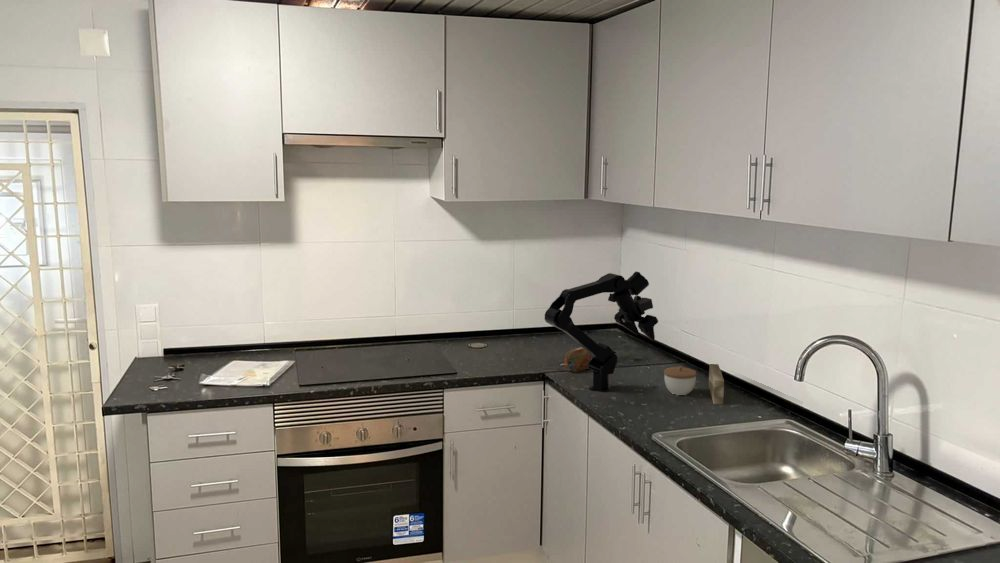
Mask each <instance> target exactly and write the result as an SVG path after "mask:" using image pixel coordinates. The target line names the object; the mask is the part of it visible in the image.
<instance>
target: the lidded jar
mask: <svg viewBox="0 0 1000 563" xmlns="http://www.w3.org/2000/svg"><path fill="white" fill-rule="evenodd" d="M663 374H664V377H663V378H664V384H665V387H666V389H667V390H668V391H669V392H671V393H672V394H671V393H670V394H671V395H673V394H676V395H675V396H678V395H684V396H688V395H689V394H690V393H691V392H692V391H693V389H694V388H695V385H696V381H697V380H696V379H697V371H696V370H694V369H692V368H689V367H685V366H684V367H683V366H682V365H680V366H671V367H667V368H665V369H664V371H663ZM687 394H688V395H687Z"/></svg>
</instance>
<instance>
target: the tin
mask: <svg viewBox="0 0 1000 563" xmlns="http://www.w3.org/2000/svg"><path fill="white" fill-rule="evenodd" d="M591 359H592V358H591V356H590V353H589V352H588V351H587V350H586V349H584V348H583V347H582V346H580V347H576V348H574V349H573V348H572V349H569V350H568V351H567V352H566V353H565V356H564V358H563V360H564V367H565V370H567V371H569V372H573V373H577V372H581V371H584V370H589V368H588V363H589V362H590V360H591Z"/></svg>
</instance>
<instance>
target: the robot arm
mask: <svg viewBox="0 0 1000 563" xmlns="http://www.w3.org/2000/svg"><path fill="white" fill-rule="evenodd" d="M649 286H650V283H649V281H648V279H647V278H646V277H645V276H644V275H643V274H641V272H640V271H634V272H633V273H632V275H630V277H628V278H627V279H625V277H623V276H622V275H621V274H616V273H612V272H609V273H607V274H604V275H602V276H601V277H600V278H599V279H597V280H594V281H592V282H589V283H585V284H582V285H578V286H575V287H572V288H564V289H563V290H562V291H561V293H560V294H559V296H558V297H556V299H555V300H554V301H552V302H551V305H549V308H548V309H547V310H546V311H545V313H544V321H545V322H546V323H547V324H548V325H551V326H553V327H554V328H557V330H560V331H563V332H564V333H565V334H566V335H568V337H569V338H571V339H572V340H574V341H575V342H576V343H577V344H578V345H580V347H583V348H584V349H586V350H587V351H588V352H589V353H590V356H591V358H592V359H591V360H590V362H589V363H588V370H591V371H592V385H591V386H589V387H588V390H591V391H597V392H604V393H605V392H606V393H607V391H608V392H609V390H611V389H612V388H613V385H610V375H612V374H614V372H615V369H616V366H617V364H618V358H619V357H618V355H617V354H616V353H617V351H614V350H613V349H612V348H611V347H610V346H609V345H607V344H604V343H601V342H598V343H597V342H596V341H595V340H593V339H592V338H591V337H590V336H588V334H586V332H584V331H583V330H582V329H581V328H579V327H578V326H577V325H576V324H574V321H573V319H572V317H571V315H572V313H573V310H574V306H575V303H576V301H579V300H582V299H586V298H589V297H593V296H596V295H599V294H603V293H604V294H605V293H609V296H608V298H607V301H608V302H611V303H616V305H617V306H618V311H617V312H616V313H615V314H614V321H615V322H616V323H618V325H620V326H622V327H624V328H625V329H627V330H628V331H629V332H631V333H633V334H634V335H636V336H638V335H640V332H641V333H643V335H645V336H646V337H647V338H649V339H650V340H651V341H654V340H656V336H655V328H654V327H655V326H656V325H657V324H658V323H659V320H658V318H657V316H654V315H651V314H646V311H647V310H650V309H653V308H654V304H653V300H652V298H649V297H643V296H642V297H641V296H640V294H641V293H642V291H644V290H645V289H647V288H648V287H649ZM633 296H634V297H633ZM562 307H563V308H562ZM561 308H562V309H561ZM645 314H646V315H645ZM643 315H645V316H643ZM636 323H637V325H636ZM639 330H640V331H639Z"/></svg>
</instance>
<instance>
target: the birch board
mask: <svg viewBox="0 0 1000 563" xmlns="http://www.w3.org/2000/svg"><path fill="white" fill-rule="evenodd" d="M708 388H709V392H710V396H711V399H712V402H713V405H724V393H725V392H724V391H725V390H724V389H725V380H724V377H723V373H722V371H721V368H720V365H719V364H718V363H709V369H708Z"/></svg>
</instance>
